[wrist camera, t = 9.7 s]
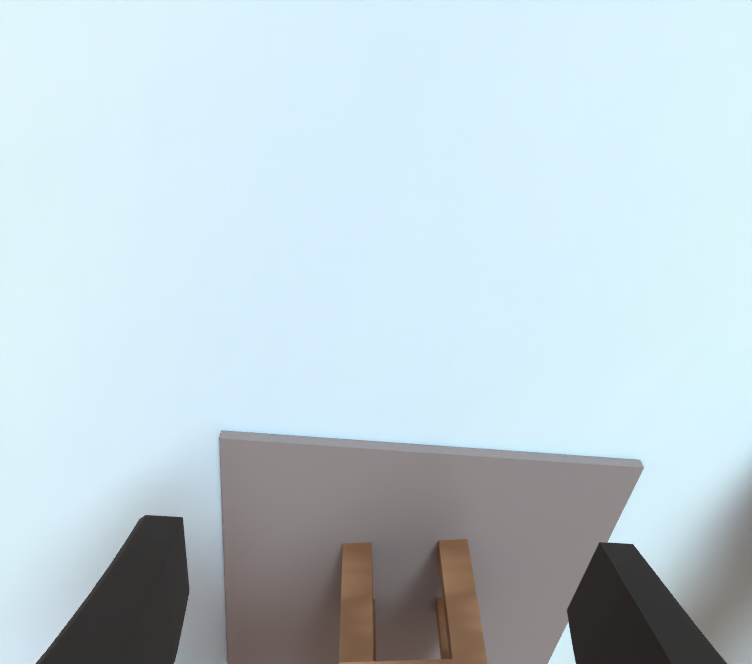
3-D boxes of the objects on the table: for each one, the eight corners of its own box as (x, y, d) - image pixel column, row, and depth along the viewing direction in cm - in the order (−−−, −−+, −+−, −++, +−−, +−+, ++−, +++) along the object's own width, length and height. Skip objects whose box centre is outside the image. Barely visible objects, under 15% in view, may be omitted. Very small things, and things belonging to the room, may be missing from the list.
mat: (639, 459, 24) (644, 467, 24) (536, 675, 33) (537, 683, 33) (221, 430, 23) (219, 438, 23) (229, 662, 32) (228, 670, 32)
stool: (467, 539, 26) (494, 705, 21) (461, 611, 29) (484, 773, 24) (342, 543, 26) (337, 710, 21) (349, 615, 29) (346, 778, 24)
